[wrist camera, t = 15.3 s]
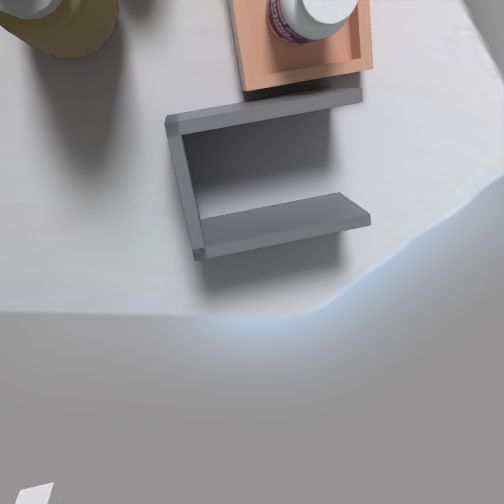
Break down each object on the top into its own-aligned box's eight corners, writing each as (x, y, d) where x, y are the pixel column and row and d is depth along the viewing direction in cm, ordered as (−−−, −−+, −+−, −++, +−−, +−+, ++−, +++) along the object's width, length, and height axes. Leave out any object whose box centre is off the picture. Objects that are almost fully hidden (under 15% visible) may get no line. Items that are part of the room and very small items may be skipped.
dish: (242, 90, 41) (246, 91, 38) (219, -53, 37) (222, -64, 34) (360, 69, 42) (373, 68, 39) (350, -73, 38) (364, -84, 35)
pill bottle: (250, 9, 38) (273, -13, 29) (297, -42, 38) (334, -80, 29) (293, 59, 40) (327, 53, 31) (338, 13, 39) (386, -8, 30)
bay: (192, 231, 45) (194, 261, 38) (166, 115, 41) (164, 123, 34) (340, 201, 46) (370, 225, 39) (329, 86, 42) (361, 88, 35)
